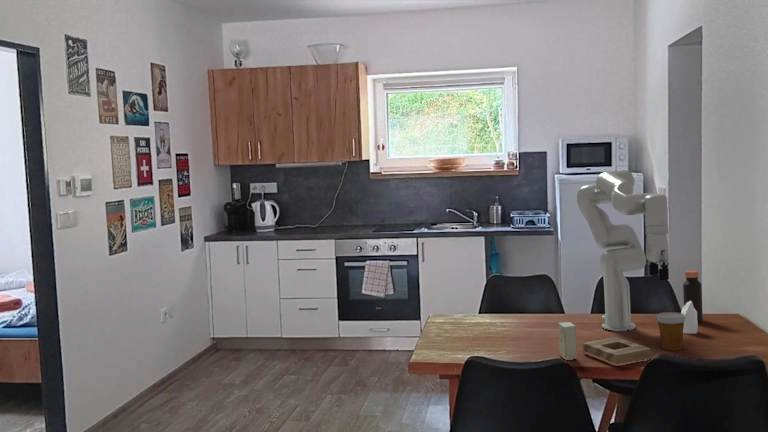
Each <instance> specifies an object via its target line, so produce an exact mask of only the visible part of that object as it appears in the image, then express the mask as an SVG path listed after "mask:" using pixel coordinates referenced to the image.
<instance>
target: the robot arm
mask: <svg viewBox="0 0 768 432" xmlns="http://www.w3.org/2000/svg"><path fill="white" fill-rule="evenodd" d="M634 186H635V177H634V175H633V173H632V172H630V171H628V170H613V171H610V170H609V171H603V172H602V173H600V174H598V175H597V177H596V179H595V183H593V184H592V183H591V184H588V185H586V184H585V185H584V186H582V187H580V188H579V189H578V191H577V193H576V203H577V206H578V209H579V212H580V213H581V214H582V216H583V218H584V219H585V220H586V222H587V224H588V226H589V229H590V231H591V234H592V236H593V239H594V241H595V243H596V245H597V247H598V248H600V249H601V250H605V251H603V252H602V253H601V254H600V257H599V263H600V268H601V272H602V278H603V292H604V294H603V295H604V310H605V311H604V312H605V313H604V315H601V318H600V319H602V320H604V322H603V323H602V324H601V328H602V327H603V328H604V329H603V328H602V329H603V330H605V329H608V330H614V331H613V332H627V330H629V331H633V330H634V329H636V324H635V323H633V322H632V320H631V319H632V318H631V295H630V282H629V281H628V279H627V278H626V276H625V274H624V273H628V272H636V271H637V272H638V271H641V270H643V269H644V268H645V266H646V264H647V260H648V271H649V273H648V274H649V276H652V277H653V276H658V280H659V281H669V280H670V275H669V274H670V270H669V269H670V266H669V263H670V256H669V254H670V253H669V244H668V243H669V242H668V236H667V235H668V234H669V212H668V197H667V195H665V194H660V193H658V194H657V193H656V192H655V193H654V192H645V193H643V192H642V193H640V192H639V193H634ZM608 204H609V205H610V204H612V207H613V208H614V210H615V211H617V212H619V213H620V214H621V215H625V216H637V215H644V220H645V224H644V225H645V235H646V237H645V238H646V239H645V251H644V249H643V246H642V244H641V242H640V240H639V238H638V235H637V233H636V231H635V230H634V228H633V227H632V226H631V225H630V224H626V223H618V224H613V222H612V220H611V219H610V216H609V214H608V213H607V212H606V211H605V210H604V209H602V208H600V207H599V206H598V205H608ZM608 330H607V331H608Z"/></svg>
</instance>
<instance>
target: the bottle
mask: <svg viewBox="0 0 768 432" xmlns="http://www.w3.org/2000/svg"><path fill="white" fill-rule="evenodd" d="M699 275H700V274H699V271H698V270H691V269H690V270H686V271H685V272H684V276H685V279H686V280H685V281H684V282H683V283H682V286H683V287H682V290H683V306H684V305H685V304H686V303H687V302H688V301H692V303H693V307H694V308H695V310H696V311H697V322H698V323H702V322H703V319H704V317H703V294H702V293H703V292H702V291H703V290H702V283H701V281H699V280H698V279H699Z"/></svg>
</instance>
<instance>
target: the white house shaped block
mask: <svg viewBox="0 0 768 432" xmlns="http://www.w3.org/2000/svg"><path fill="white" fill-rule="evenodd" d="M680 313H682V314H683V315H684V317H685V321H684V328H683V334H690V335H693V334H698V323H699V322H697V311H696V310H695V308H694V307H693V303H692V301H688V302H687V303H686V304H685V305H684V304H683V306H682V308H681V312H680Z"/></svg>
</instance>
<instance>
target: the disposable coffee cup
mask: <svg viewBox="0 0 768 432" xmlns="http://www.w3.org/2000/svg"><path fill="white" fill-rule="evenodd" d="M656 320H657V324H658V329H659V336H660V342H661V347H662V349H663V350H665V351H671V352H672V351H674V352H675V351H680V350H682V348H683V347H682V346H683V335H684V333H683V328H684V321H685V317H684V315H683V314H682V313H681V312H677V311H676V312H675V311H674V312H673V311H665V312H659V313H658V314H657V315H656Z"/></svg>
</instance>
